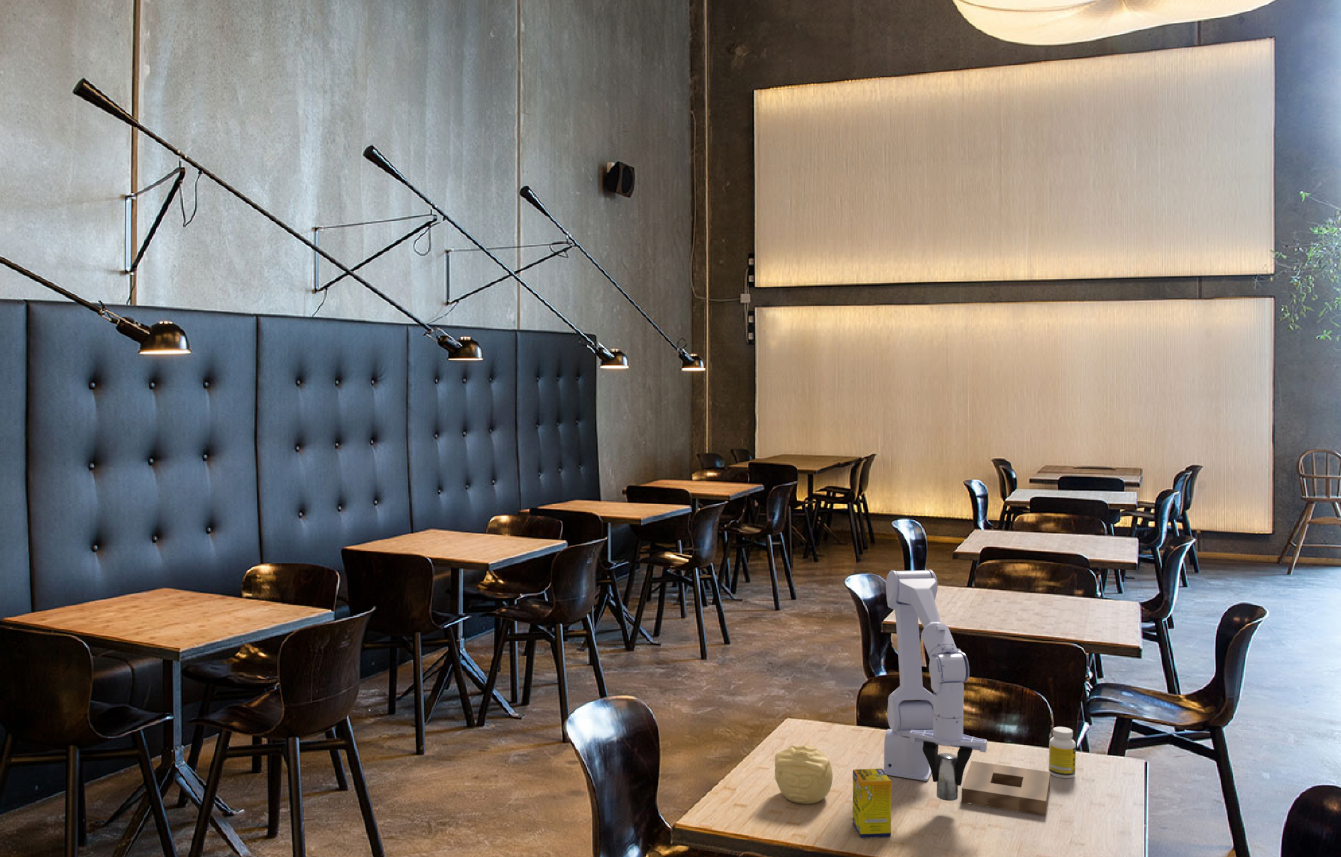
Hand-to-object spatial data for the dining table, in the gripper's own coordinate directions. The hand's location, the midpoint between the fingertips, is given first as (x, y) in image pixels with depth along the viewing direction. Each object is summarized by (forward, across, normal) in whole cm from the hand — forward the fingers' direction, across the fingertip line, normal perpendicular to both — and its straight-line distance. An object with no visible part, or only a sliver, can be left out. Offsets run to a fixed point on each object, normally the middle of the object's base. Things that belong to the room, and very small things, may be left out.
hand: (947, 782), depth 200 cm
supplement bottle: (+6, +20, +30) cm, 37 cm away
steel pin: (+3, 0, 0) cm, 3 cm away
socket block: (+6, +10, +14) cm, 18 cm away
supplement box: (+6, -12, -14) cm, 20 cm away
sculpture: (+6, -28, -4) cm, 29 cm away
